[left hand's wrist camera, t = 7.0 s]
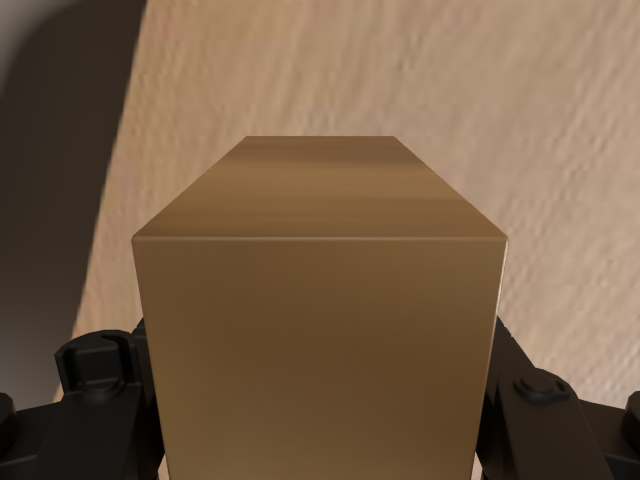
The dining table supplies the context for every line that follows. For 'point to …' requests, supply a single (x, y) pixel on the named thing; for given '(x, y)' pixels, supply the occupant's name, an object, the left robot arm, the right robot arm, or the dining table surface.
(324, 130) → the dining table surface
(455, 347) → the bar
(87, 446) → the left robot arm
